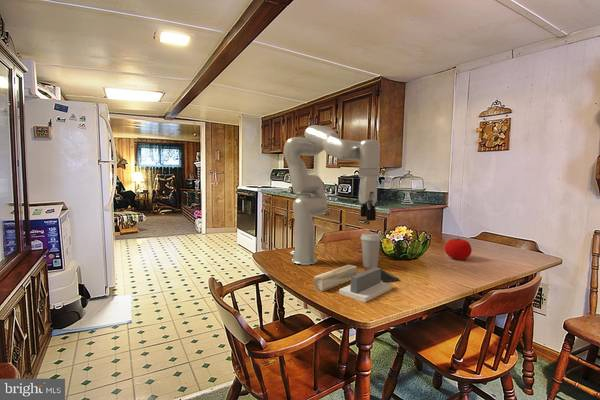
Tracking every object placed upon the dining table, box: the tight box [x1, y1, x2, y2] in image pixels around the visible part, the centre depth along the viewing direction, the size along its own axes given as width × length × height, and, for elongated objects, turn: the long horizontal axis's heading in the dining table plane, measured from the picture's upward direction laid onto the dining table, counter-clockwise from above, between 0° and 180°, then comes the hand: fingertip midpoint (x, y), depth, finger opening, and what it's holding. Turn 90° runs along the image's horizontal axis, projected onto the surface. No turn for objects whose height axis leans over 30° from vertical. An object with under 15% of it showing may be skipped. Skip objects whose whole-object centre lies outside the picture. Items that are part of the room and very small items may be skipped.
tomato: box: [444, 237, 473, 260], centre depth 161 cm, size 11×12×10 cm
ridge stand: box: [338, 266, 393, 303], centre depth 116 cm, size 11×18×7 cm, turn 135°
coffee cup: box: [360, 232, 382, 269], centre depth 147 cm, size 10×10×15 cm
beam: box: [313, 264, 358, 293], centre depth 125 cm, size 4×22×5 cm, turn 136°
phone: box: [364, 269, 400, 284], centre depth 134 cm, size 8×1×15 cm
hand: (367, 218), depth 121 cm, fingers open, 9 cm apart
